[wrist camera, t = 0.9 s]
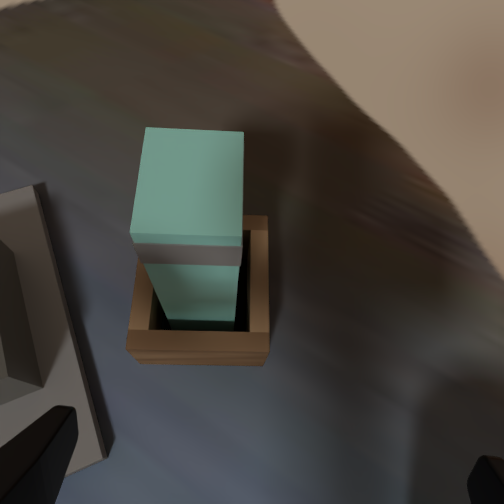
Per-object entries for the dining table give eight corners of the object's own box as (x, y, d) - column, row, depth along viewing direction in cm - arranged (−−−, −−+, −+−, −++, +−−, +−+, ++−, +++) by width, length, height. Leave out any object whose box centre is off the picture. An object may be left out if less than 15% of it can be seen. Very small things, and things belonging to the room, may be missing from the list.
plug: (234, 336, 25) (243, 238, 13) (173, 335, 25) (128, 234, 13) (235, 268, 27) (245, 131, 15) (179, 267, 27) (144, 126, 15)
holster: (262, 365, 24) (269, 351, 21) (140, 364, 24) (125, 349, 20) (261, 245, 28) (267, 215, 24) (155, 242, 27) (144, 211, 24)
